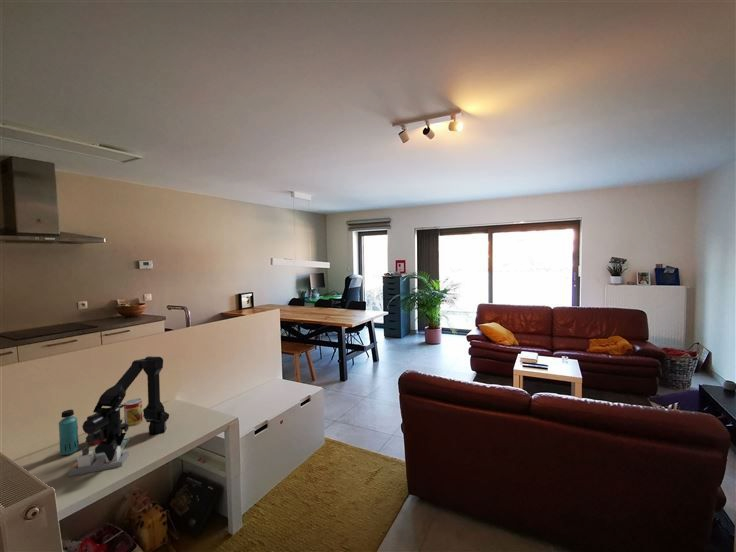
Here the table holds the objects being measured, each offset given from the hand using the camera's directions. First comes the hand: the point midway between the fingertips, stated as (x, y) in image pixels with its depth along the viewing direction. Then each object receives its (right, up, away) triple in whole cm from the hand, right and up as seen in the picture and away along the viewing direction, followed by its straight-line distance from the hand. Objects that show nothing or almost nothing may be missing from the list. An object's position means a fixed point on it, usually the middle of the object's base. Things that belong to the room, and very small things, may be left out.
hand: (113, 456), depth 138 cm
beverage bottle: (-26, -3, +8) cm, 27 cm away
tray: (-9, -3, +12) cm, 15 cm away
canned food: (-17, -2, +35) cm, 39 cm away
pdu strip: (-4, -3, -2) cm, 6 cm away
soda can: (-21, -3, +17) cm, 27 cm away
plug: (0, -3, 0) cm, 3 cm away
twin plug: (-9, -3, -3) cm, 10 cm away
